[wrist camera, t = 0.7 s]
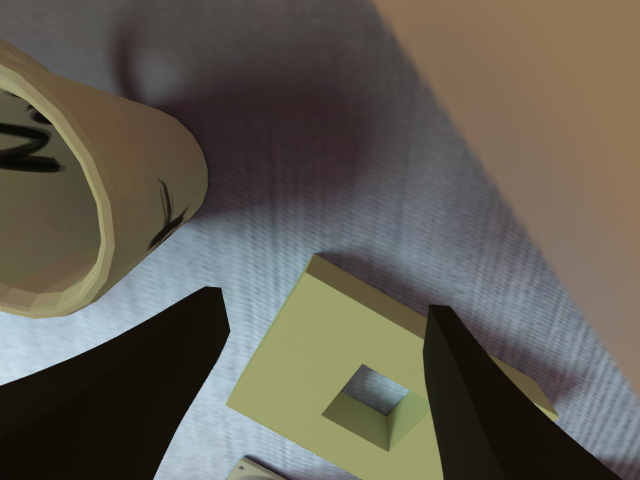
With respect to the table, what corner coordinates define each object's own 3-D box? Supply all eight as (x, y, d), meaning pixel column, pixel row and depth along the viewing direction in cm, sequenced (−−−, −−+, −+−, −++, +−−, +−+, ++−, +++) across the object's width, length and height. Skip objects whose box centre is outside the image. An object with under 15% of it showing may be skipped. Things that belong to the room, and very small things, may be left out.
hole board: (424, 476, 27) (430, 516, 24) (240, 375, 26) (225, 404, 23) (535, 380, 22) (559, 417, 19) (313, 253, 21) (305, 272, 18)
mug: (162, 267, 23) (25, 358, 14) (8, 97, 21) (-286, 71, 11) (262, 187, 20) (170, 238, 11) (95, -28, 17) (-220, -208, 8)
